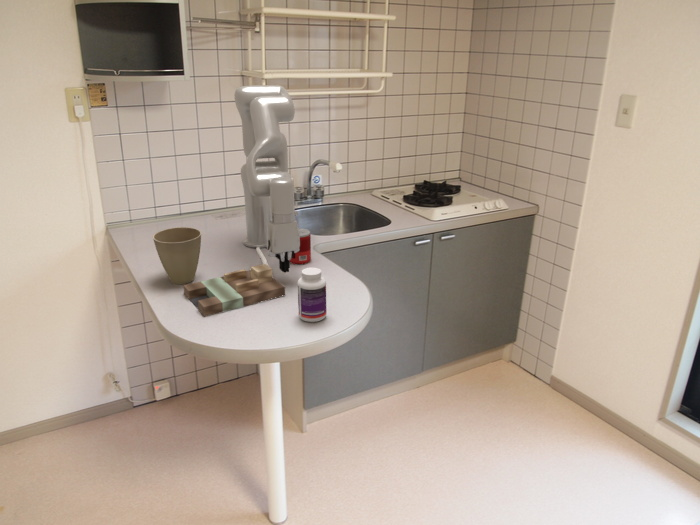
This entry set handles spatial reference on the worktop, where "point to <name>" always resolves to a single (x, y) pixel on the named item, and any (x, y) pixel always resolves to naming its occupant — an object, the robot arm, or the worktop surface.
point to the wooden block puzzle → (231, 292)
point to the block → (261, 273)
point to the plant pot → (179, 252)
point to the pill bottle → (312, 295)
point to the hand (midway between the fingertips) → (284, 270)
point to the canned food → (303, 248)
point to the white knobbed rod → (262, 256)
